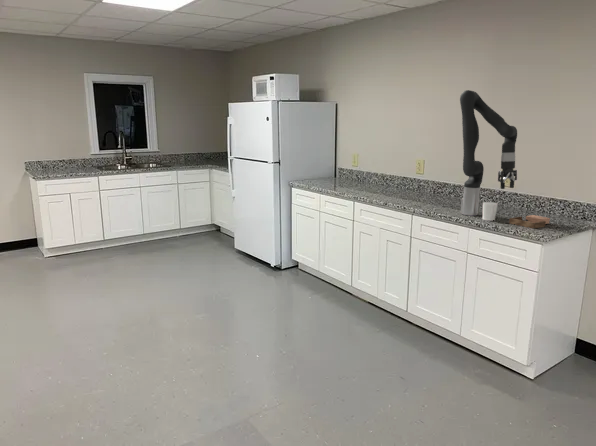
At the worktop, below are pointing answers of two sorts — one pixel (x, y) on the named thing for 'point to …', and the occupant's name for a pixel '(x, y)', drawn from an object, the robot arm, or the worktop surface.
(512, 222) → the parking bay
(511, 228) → the worktop surface
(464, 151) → the robot arm
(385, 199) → the worktop surface
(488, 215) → the white cup
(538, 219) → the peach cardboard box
